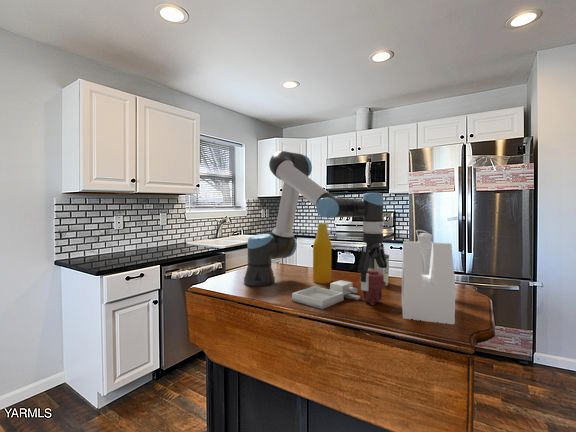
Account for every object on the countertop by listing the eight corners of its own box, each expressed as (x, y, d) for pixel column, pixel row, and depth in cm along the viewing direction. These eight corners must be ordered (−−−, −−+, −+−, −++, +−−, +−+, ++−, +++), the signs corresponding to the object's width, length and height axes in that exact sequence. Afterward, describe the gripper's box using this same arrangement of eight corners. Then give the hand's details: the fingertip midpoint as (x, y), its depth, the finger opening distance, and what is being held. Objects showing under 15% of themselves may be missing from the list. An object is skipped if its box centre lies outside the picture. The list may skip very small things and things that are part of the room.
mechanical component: (383, 299, 123) (386, 307, 113) (358, 297, 125) (359, 305, 115) (384, 269, 123) (387, 274, 113) (359, 268, 125) (359, 273, 115)
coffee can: (363, 283, 148) (364, 255, 148) (371, 279, 157) (371, 252, 156) (384, 287, 142) (385, 257, 142) (391, 282, 151) (392, 254, 150)
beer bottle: (334, 280, 154) (334, 223, 153) (326, 284, 146) (327, 224, 145) (317, 278, 159) (318, 223, 158) (309, 282, 151) (309, 223, 150)
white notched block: (454, 324, 97) (456, 246, 96) (403, 318, 102) (404, 244, 102) (444, 306, 115) (446, 240, 115) (401, 302, 120) (402, 239, 120)
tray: (292, 300, 121) (292, 293, 121) (314, 293, 132) (314, 286, 132) (322, 309, 111) (322, 300, 111) (343, 300, 122) (343, 292, 122)
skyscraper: (421, 297, 127) (423, 230, 126) (410, 292, 135) (411, 229, 134) (439, 296, 129) (440, 230, 128) (426, 291, 137) (428, 229, 136)
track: (333, 294, 130) (333, 292, 129) (337, 293, 132) (337, 290, 132) (356, 300, 122) (356, 297, 122) (360, 298, 124) (360, 296, 124)
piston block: (330, 292, 128) (330, 283, 128) (340, 289, 134) (340, 280, 133) (351, 297, 121) (351, 287, 121) (360, 293, 127) (361, 284, 127)
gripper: (366, 235, 107) (366, 295, 107) (395, 231, 125) (395, 282, 126) (347, 234, 112) (347, 291, 112) (378, 230, 130) (378, 279, 131)
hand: (373, 287), depth 119 cm, fingers open, 13 cm apart
